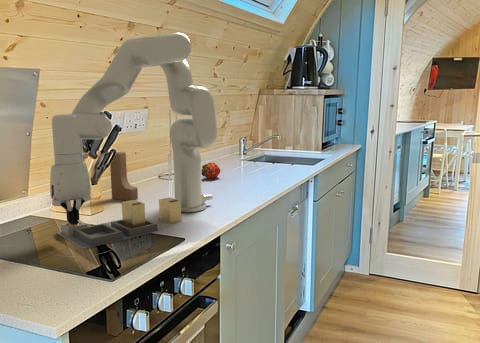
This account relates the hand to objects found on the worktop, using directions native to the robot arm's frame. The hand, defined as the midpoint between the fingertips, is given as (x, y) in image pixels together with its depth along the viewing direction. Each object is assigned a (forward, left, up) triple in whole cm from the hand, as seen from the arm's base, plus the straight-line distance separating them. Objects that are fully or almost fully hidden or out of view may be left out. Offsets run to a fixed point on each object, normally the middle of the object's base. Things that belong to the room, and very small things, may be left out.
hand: (73, 223), depth 130 cm
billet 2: (-27, +8, -4) cm, 29 cm away
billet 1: (-14, +9, -3) cm, 17 cm away
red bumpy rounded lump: (-83, -43, -4) cm, 94 cm away
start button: (0, 0, -3) cm, 3 cm away
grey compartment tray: (-8, +6, -4) cm, 11 cm away
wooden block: (-33, -33, -4) cm, 47 cm away
